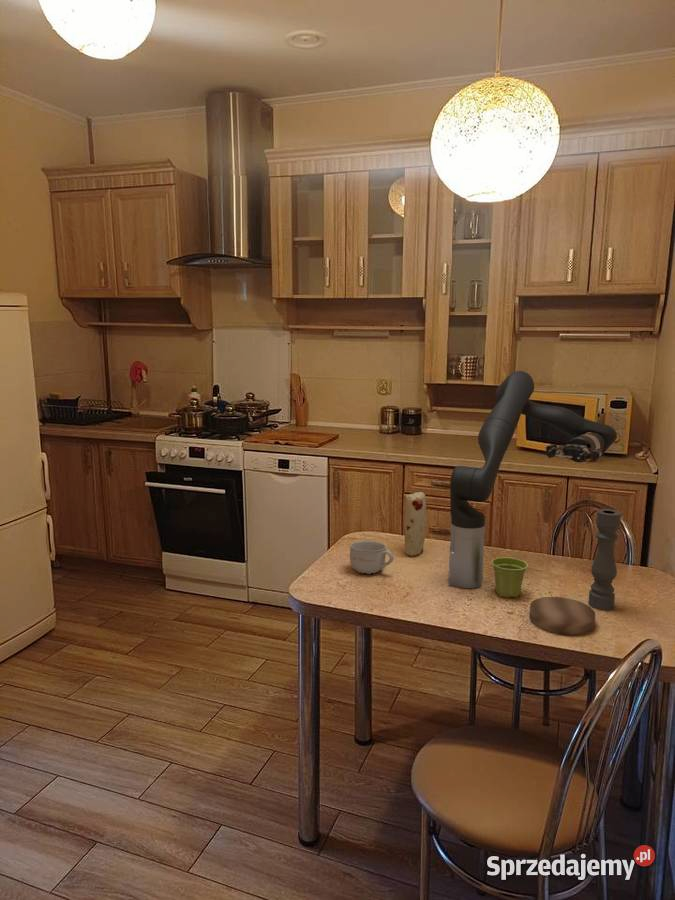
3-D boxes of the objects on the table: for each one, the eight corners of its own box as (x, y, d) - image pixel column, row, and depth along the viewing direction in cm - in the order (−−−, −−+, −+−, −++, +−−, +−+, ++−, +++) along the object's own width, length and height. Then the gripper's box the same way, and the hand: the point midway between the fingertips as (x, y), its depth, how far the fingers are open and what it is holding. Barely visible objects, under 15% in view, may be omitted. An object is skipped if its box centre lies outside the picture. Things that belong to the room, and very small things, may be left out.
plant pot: (498, 584, 175) (500, 554, 174) (531, 592, 170) (533, 562, 168) (484, 594, 168) (485, 564, 166) (518, 603, 162) (519, 572, 161)
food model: (419, 559, 194) (421, 497, 190) (399, 556, 197) (400, 495, 193) (428, 550, 203) (430, 490, 199) (409, 547, 205) (410, 488, 202)
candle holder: (616, 611, 158) (625, 516, 153) (590, 609, 159) (598, 514, 155) (611, 601, 164) (619, 509, 159) (586, 599, 165) (593, 508, 160)
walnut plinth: (534, 633, 146) (535, 621, 146) (525, 606, 161) (525, 595, 160) (601, 637, 144) (602, 625, 144) (586, 609, 159) (587, 598, 158)
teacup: (342, 570, 185) (342, 544, 184) (367, 561, 193) (368, 536, 191) (375, 583, 175) (376, 556, 174) (401, 573, 182) (402, 547, 181)
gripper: (560, 432, 188) (540, 439, 175) (609, 437, 179) (592, 445, 167) (558, 457, 189) (538, 466, 177) (607, 463, 181) (590, 472, 168)
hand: (564, 456), depth 172 cm, fingers open, 8 cm apart
